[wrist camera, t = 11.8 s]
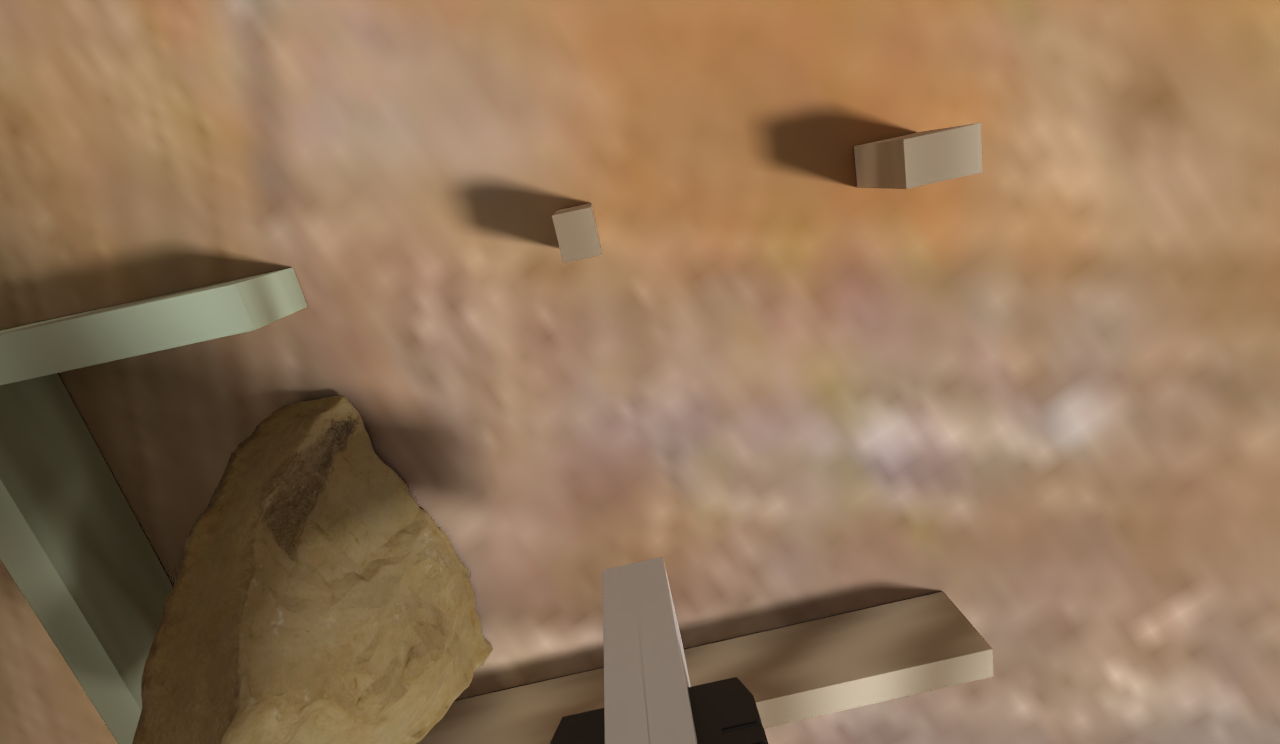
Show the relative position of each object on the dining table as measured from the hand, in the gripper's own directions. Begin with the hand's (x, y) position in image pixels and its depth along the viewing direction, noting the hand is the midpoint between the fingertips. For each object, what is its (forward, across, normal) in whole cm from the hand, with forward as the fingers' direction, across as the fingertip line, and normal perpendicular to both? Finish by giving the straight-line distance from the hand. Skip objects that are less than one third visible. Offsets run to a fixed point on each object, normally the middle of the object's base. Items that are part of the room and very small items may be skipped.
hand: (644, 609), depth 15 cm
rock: (+6, +8, 0) cm, 11 cm away
